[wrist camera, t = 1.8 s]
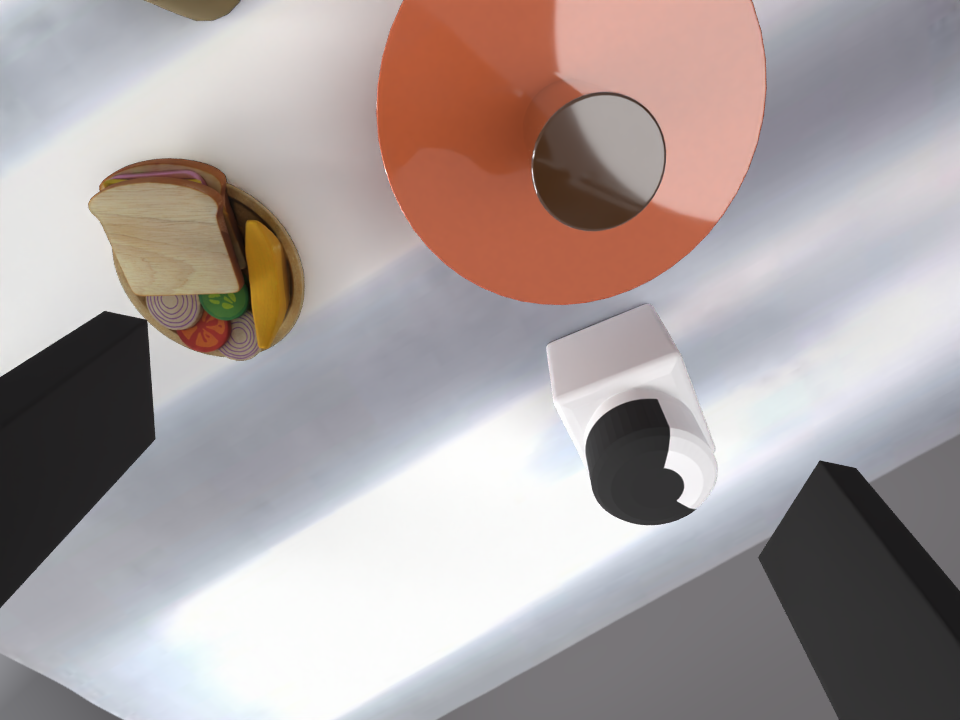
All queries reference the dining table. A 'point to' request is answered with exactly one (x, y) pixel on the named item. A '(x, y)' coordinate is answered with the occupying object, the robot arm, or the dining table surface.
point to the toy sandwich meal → (200, 257)
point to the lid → (568, 135)
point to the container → (634, 417)
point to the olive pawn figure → (198, 8)
